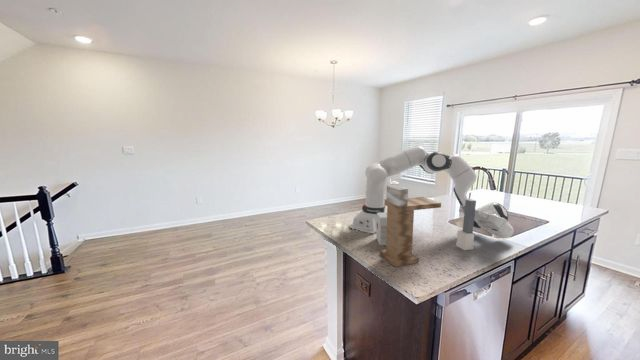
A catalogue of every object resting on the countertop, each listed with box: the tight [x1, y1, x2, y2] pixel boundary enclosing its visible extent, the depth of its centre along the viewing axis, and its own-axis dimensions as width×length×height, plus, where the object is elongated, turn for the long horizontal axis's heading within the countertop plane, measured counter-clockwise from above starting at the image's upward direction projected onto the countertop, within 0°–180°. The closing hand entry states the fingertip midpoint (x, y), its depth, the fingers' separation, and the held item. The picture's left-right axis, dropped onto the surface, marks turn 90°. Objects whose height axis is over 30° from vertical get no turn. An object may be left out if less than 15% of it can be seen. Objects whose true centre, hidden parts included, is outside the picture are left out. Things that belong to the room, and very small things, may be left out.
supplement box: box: [376, 212, 387, 246], centre depth 127 cm, size 9×9×15 cm
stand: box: [379, 184, 442, 268], centre depth 109 cm, size 22×12×33 cm, turn 105°
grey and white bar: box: [455, 198, 477, 251], centre depth 118 cm, size 24×5×5 cm
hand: (469, 209), depth 117 cm, fingers open, 8 cm apart
